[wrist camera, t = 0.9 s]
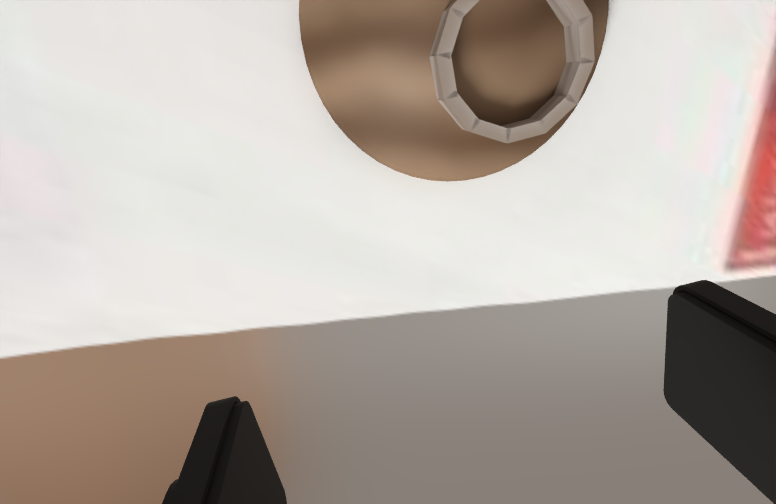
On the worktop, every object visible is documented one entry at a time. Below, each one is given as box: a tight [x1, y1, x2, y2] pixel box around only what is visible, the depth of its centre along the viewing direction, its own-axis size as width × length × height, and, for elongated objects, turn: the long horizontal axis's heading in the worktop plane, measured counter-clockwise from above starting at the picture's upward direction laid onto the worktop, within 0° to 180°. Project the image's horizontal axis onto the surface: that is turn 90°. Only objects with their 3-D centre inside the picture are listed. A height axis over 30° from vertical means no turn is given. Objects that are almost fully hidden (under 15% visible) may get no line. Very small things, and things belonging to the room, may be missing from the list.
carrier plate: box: [299, 0, 609, 181], centre depth 30 cm, size 22×22×4 cm
